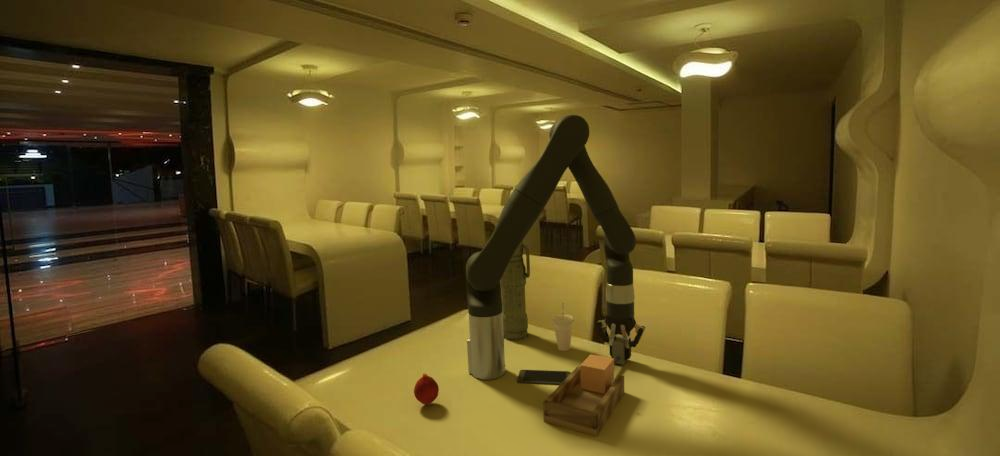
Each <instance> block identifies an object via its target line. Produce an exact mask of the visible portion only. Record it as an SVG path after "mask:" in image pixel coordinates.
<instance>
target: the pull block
mask: <svg viewBox="0 0 1000 456" xmlns="http://www.w3.org/2000/svg"><path fill="white" fill-rule="evenodd" d="M626 362H627V361H626V360H625V343H624V340H623V336H622V335H617V337H616V338H615V339H614V341H613V342H612V356H611V357H607V356H601V355H596V354H591V353H590V354H589V356H587V357H586V359H585V360H584V361H583V362H582V363H581V364H580V366H579V367H580V372H581V389H584V390H589V391H593V392H598V393H602V394H605V393H606V392H607V391H608V389H609V388H610V387H611V385H612V384H613V383H614V382H615V365H616V364H618V365H622V366H623V365H625V363H626Z"/></svg>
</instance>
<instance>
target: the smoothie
mask: <svg viewBox="0 0 1000 456" xmlns="http://www.w3.org/2000/svg"><path fill="white" fill-rule="evenodd" d="M574 318H575V317H574V316H573V315H570V314H565V306H564V303H563V302H562V303H561V314H556V315H554V316H553V317H552V322H553V326H554V331H555V332H554V333H555V340H556V344H557V345H556V346H557V350H559V351H560V352H561V351H563V352H564V351H565V352H566V351H570V350H571V343H572V333H573V323H574V322H575V320H574Z"/></svg>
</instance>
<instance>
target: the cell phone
mask: <svg viewBox="0 0 1000 456" xmlns="http://www.w3.org/2000/svg"><path fill="white" fill-rule="evenodd" d="M571 373H572V372H571V371H569V370H566V371H565V370H546V369H545V370H543V369H542V370H541V369H521V370H520V371H519V372H518V375H517V379H516V383H517V384H525V385H526V384H528V385H531V384H532V385H548V386H549V385H552V386H553V385H554V386H559V385H560V384H561V383H562V382H563V381H564V380H565V379H566V378H567V377H568V376H569V375H570V374H571Z"/></svg>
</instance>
